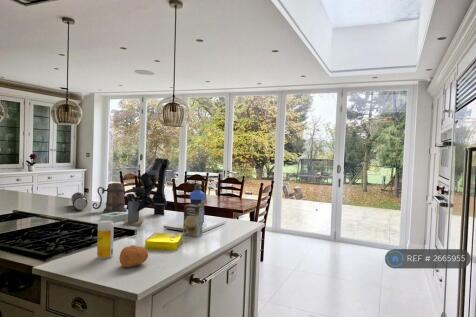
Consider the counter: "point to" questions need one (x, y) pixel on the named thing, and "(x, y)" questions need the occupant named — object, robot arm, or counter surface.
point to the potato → (133, 256)
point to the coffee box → (193, 220)
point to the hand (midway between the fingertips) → (131, 210)
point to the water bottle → (197, 197)
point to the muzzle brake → (79, 201)
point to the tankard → (113, 198)
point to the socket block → (114, 216)
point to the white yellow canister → (105, 239)
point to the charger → (133, 211)
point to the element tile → (163, 241)
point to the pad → (133, 223)
